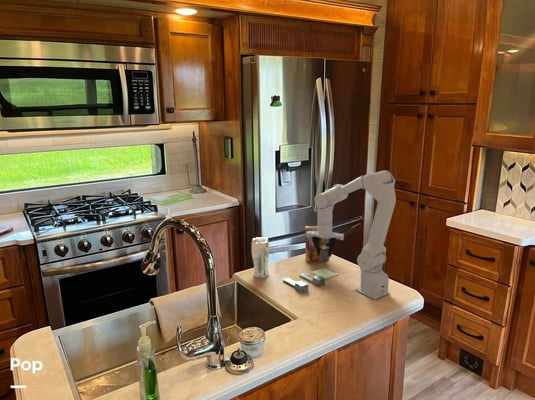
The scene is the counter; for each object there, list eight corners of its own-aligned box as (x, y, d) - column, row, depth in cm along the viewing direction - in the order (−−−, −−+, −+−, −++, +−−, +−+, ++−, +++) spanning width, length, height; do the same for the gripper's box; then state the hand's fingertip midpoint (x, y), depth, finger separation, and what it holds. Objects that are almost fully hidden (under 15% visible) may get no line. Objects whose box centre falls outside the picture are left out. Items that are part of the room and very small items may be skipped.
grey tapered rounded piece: (330, 261, 159) (330, 249, 158) (320, 262, 158) (321, 250, 157) (323, 253, 168) (323, 241, 167) (314, 253, 168) (314, 242, 167)
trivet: (337, 275, 161) (337, 274, 161) (324, 279, 157) (324, 278, 157) (324, 268, 167) (324, 268, 167) (311, 273, 163) (311, 272, 163)
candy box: (325, 258, 179) (325, 225, 175) (325, 262, 174) (326, 228, 171) (305, 258, 179) (305, 225, 176) (305, 261, 175) (305, 228, 172)
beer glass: (249, 275, 163) (247, 240, 159) (262, 270, 167) (261, 236, 164) (259, 280, 158) (258, 244, 154) (273, 275, 162) (272, 240, 159)
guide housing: (325, 284, 153) (325, 278, 152) (301, 292, 146) (301, 286, 146) (305, 274, 162) (305, 268, 162) (282, 281, 156) (282, 275, 156)
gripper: (304, 224, 156) (304, 257, 159) (342, 226, 151) (341, 260, 154) (308, 219, 162) (308, 251, 165) (344, 221, 158) (343, 254, 161)
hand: (324, 255), depth 160 cm, fingers closed on grey tapered rounded piece, 4 cm apart
